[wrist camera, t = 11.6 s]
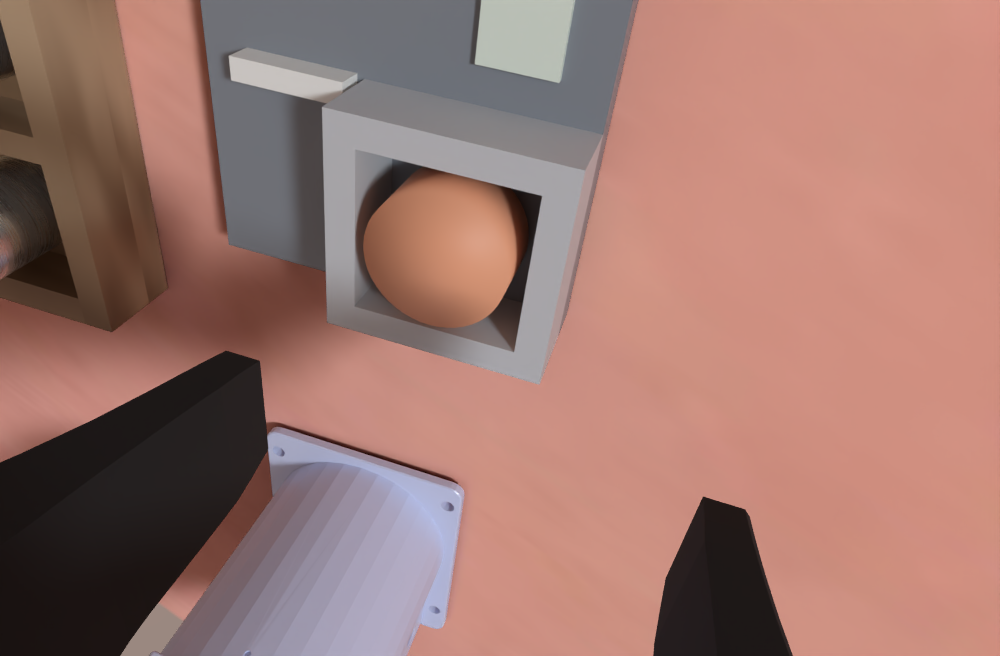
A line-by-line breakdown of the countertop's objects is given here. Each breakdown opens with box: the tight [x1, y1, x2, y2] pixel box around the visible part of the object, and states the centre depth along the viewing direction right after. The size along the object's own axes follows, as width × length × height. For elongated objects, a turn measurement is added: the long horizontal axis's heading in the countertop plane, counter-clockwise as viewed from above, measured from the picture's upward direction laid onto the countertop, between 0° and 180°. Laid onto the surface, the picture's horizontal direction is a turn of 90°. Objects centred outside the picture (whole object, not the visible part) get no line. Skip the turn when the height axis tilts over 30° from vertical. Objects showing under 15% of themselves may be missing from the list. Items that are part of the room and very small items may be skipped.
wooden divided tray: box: [0, 0, 168, 332], centre depth 21 cm, size 12×6×3 cm, turn 172°
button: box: [363, 166, 529, 328], centre depth 18 cm, size 4×4×2 cm
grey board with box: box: [200, 0, 638, 384], centre depth 17 cm, size 11×10×3 cm
